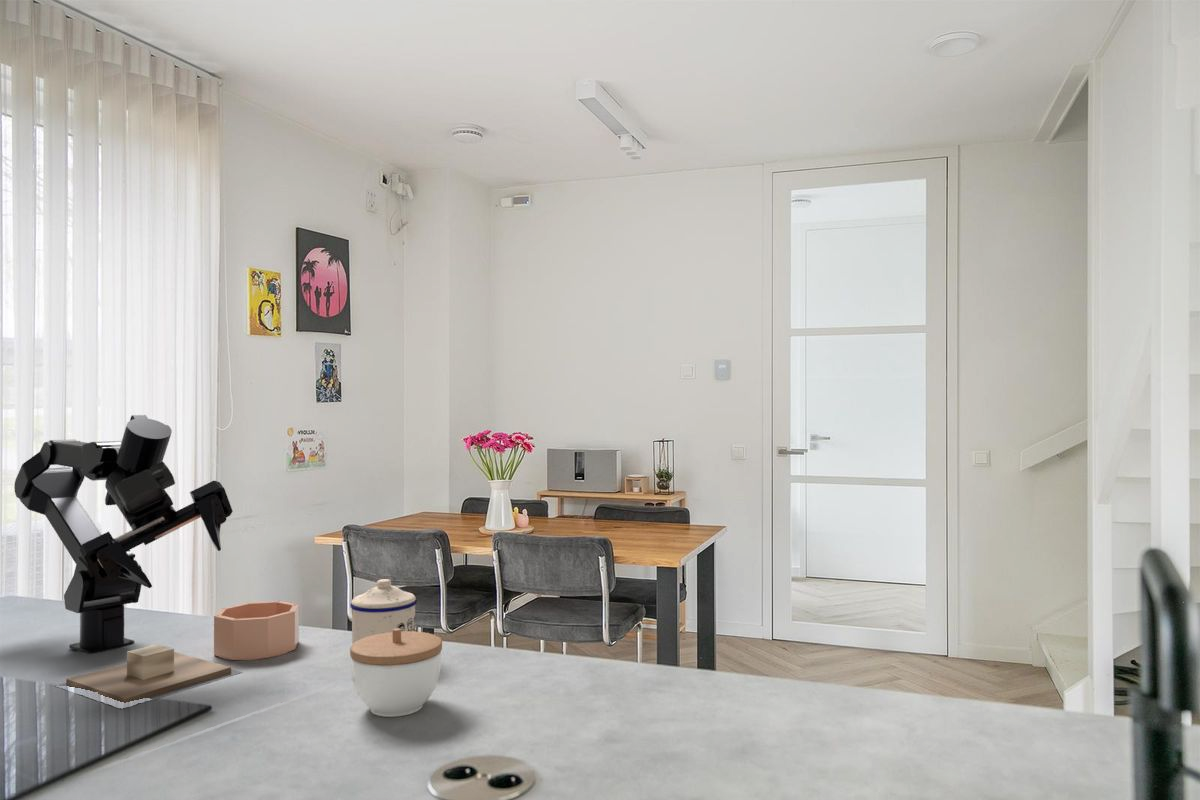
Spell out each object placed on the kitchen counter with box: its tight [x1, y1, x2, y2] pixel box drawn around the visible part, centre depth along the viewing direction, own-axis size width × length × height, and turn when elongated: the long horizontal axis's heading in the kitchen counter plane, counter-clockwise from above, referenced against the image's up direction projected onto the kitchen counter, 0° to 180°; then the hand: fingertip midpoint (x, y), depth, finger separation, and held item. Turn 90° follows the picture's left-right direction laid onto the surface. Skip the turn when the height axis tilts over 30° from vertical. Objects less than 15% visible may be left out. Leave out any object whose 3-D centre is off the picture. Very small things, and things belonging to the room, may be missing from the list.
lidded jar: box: [349, 628, 443, 718], centre depth 97 cm, size 11×11×9 cm
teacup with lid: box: [350, 578, 418, 645], centre depth 116 cm, size 12×9×12 cm
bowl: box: [213, 600, 300, 661], centre depth 121 cm, size 11×11×6 cm
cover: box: [65, 643, 232, 703], centre depth 107 cm, size 14×14×4 cm
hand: (185, 566), depth 108 cm, fingers open, 9 cm apart
